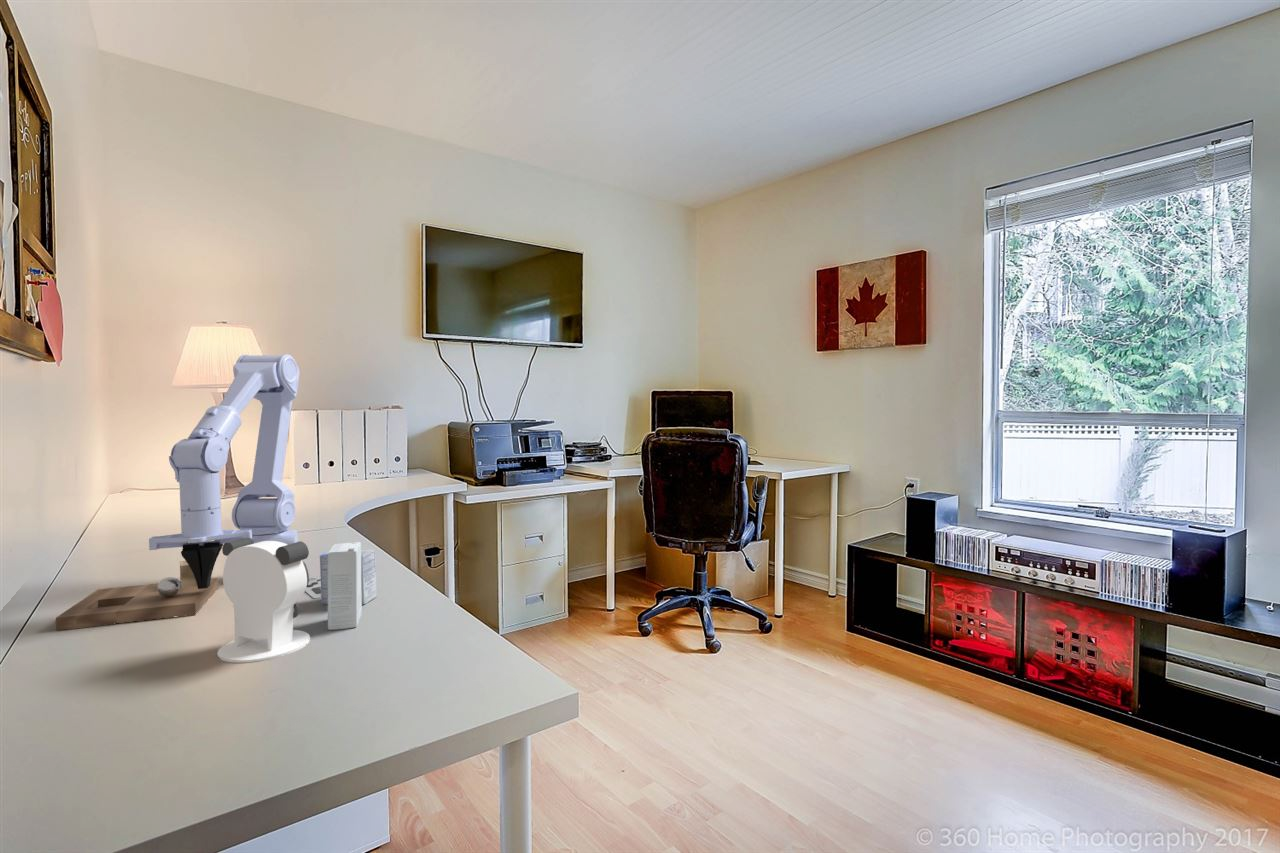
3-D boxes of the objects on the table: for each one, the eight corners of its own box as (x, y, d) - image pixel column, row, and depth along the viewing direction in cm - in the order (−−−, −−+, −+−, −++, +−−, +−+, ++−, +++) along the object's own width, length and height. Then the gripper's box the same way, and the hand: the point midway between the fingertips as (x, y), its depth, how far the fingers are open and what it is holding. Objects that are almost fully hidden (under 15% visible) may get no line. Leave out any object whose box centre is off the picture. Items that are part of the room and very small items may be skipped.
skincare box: (333, 618, 103) (331, 543, 103) (363, 615, 105) (361, 541, 104) (326, 631, 97) (324, 552, 97) (359, 628, 99) (356, 549, 98)
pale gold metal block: (207, 579, 119) (206, 558, 119) (208, 584, 116) (207, 562, 116) (180, 583, 117) (179, 561, 116) (181, 588, 113) (180, 566, 113)
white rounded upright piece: (331, 636, 96) (328, 535, 95) (268, 667, 85) (264, 553, 84) (265, 628, 99) (262, 531, 98) (197, 657, 88) (192, 548, 87)
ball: (183, 592, 111) (182, 574, 111) (178, 597, 108) (177, 578, 108) (161, 594, 110) (160, 576, 110) (154, 600, 107) (154, 581, 107)
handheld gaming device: (341, 571, 130) (365, 587, 119) (342, 574, 130) (366, 591, 119) (293, 579, 125) (313, 597, 113) (293, 583, 125) (314, 601, 113)
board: (218, 588, 120) (217, 577, 120) (195, 614, 105) (195, 602, 105) (98, 600, 113) (97, 589, 113) (56, 630, 99) (55, 617, 99)
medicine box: (377, 597, 114) (376, 549, 114) (364, 605, 110) (362, 555, 109) (335, 596, 115) (333, 548, 114) (320, 604, 110) (318, 554, 110)
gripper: (141, 515, 104) (144, 598, 104) (245, 509, 109) (248, 588, 110) (155, 508, 110) (158, 587, 111) (253, 502, 116) (255, 577, 116)
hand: (204, 587), depth 111 cm, fingers closed
